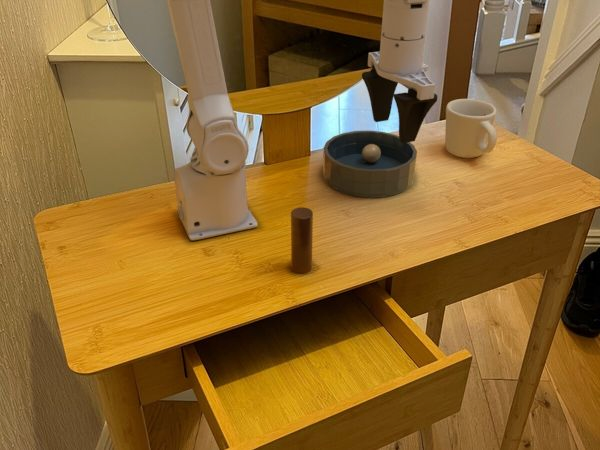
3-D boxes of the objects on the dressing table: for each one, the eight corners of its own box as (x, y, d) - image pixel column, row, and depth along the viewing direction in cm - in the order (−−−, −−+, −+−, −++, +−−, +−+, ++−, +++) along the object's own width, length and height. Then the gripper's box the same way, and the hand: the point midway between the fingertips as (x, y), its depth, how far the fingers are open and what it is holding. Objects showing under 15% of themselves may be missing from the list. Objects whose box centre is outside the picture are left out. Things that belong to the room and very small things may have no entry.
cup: (509, 165, 102) (518, 119, 97) (467, 173, 99) (475, 126, 95) (470, 138, 110) (477, 95, 106) (431, 146, 108) (437, 102, 103)
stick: (295, 275, 77) (295, 220, 72) (288, 263, 79) (287, 209, 74) (315, 270, 77) (316, 215, 73) (307, 259, 80) (307, 205, 75)
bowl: (347, 205, 91) (348, 178, 88) (309, 163, 102) (309, 138, 99) (431, 187, 95) (434, 161, 93) (385, 149, 106) (388, 125, 104)
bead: (366, 167, 100) (368, 150, 98) (358, 159, 102) (359, 142, 100) (383, 164, 101) (384, 147, 99) (374, 156, 103) (375, 139, 101)
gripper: (460, 46, 77) (446, 146, 85) (401, 18, 89) (393, 108, 96) (411, 53, 75) (400, 155, 82) (357, 22, 86) (352, 114, 94)
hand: (393, 130), depth 89 cm, fingers open, 7 cm apart
